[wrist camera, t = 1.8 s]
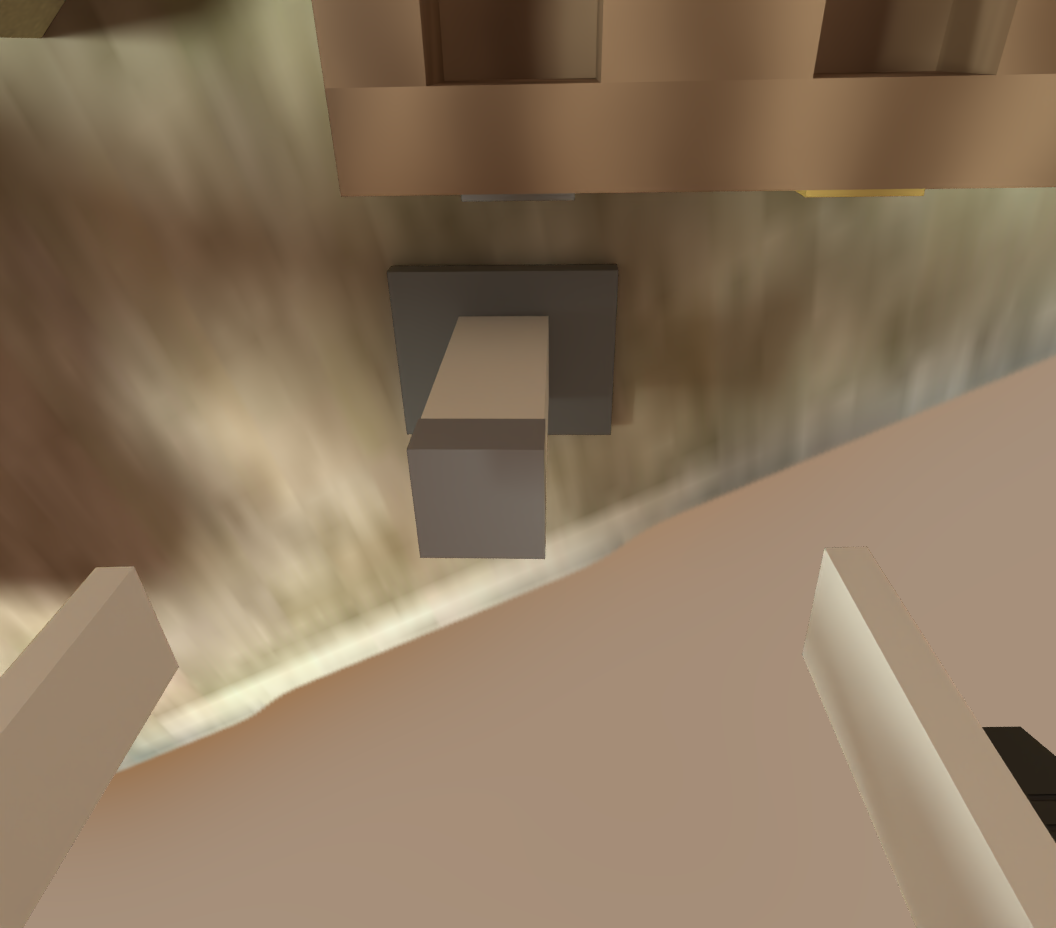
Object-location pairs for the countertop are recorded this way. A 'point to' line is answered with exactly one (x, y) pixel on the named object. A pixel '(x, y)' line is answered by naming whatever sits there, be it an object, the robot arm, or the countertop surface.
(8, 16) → the tissue box
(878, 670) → the robot arm
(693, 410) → the countertop surface
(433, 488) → the plug
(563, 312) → the mat
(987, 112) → the port block
